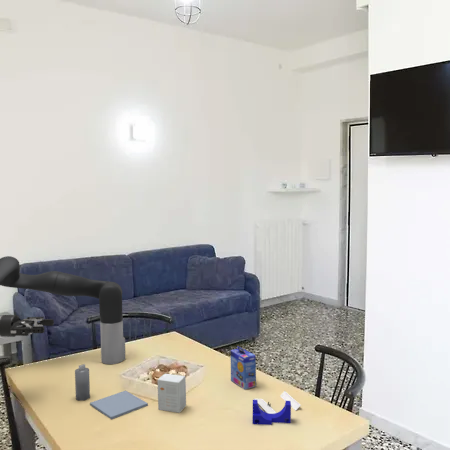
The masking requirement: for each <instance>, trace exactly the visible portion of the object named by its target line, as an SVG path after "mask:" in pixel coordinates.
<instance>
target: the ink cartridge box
mask: <svg viewBox="0 0 450 450" xmlns="http://www.w3.org/2000/svg"><path fill="white" fill-rule="evenodd" d="M236 347H237V348H234V349H231V350H230V351H229V352H230V381H231V382H232V383H234V384H236V386H238V387H240V388H242V389H243V390H249V389H252V388H256V387H257V366H256V365H257V361H256V354H254V353H253V352H250V351H248V350H246V349H245V348H242V347H241V346H237V345H236Z"/></svg>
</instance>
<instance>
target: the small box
mask: <svg viewBox="0 0 450 450" xmlns="http://www.w3.org/2000/svg"><path fill="white" fill-rule="evenodd" d="M186 383H187V382H186V375H179V374H169V373H164V374H163V375H161V376H160V377H159V378H158V379H157V405H158V407H157V408H158V410H159V411H165V412H173V413H178V414H180V413H181V412H182V411H183V410H184V409H185V407H186V406H187V386H186V385H187V384H186Z"/></svg>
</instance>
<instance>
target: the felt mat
mask: <svg viewBox="0 0 450 450" xmlns="http://www.w3.org/2000/svg"><path fill="white" fill-rule="evenodd" d="M89 406H91V407H92V408H93V409H95V410H97V411H98V412H100V414H103V415H104V416H105V417H106V418H109V419H110V420H115V419H117V418H118V417H119V418H120V417H122V416H124V415H127V414H129V413H132V412H134V411H137V410H139V409H143V408H145V407H148V406H149V403H148V402H146V401H145V400H143V399H141V398H139V397H138V396H136V395H134V394H132V393H131V392H129V391H127V390H122V391H121V392H120V391H119V392H117V393H115V394H111V395H108V396H105V397H103V398H99V399H97V400H94V401H91V402H90V403H89Z"/></svg>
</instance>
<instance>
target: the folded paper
mask: <svg viewBox="0 0 450 450" xmlns="http://www.w3.org/2000/svg"><path fill="white" fill-rule="evenodd" d="M279 397H280V398H282V399H283V401H284V402H286V401H290V402H291V409H293V410H294V411H297V410H298V409H299V408H300V407H301V406H302V404H300V402H299V401H297V400H296V399H295V398H293V396H291V395H290V394H289V393H288V392H287V391H285V390H284V391H283V392H282V393H281V394H280V395H279ZM252 400H257V401H258V405H259V407H260V408H261V409H263V411H264V412H266V413H269V414H275V413H278V412H277V411H275V409H273V407H272V406H271V405H272V404H271V403H270V401H268V402H266V401H265V399H263V398H253V399H252Z"/></svg>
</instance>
